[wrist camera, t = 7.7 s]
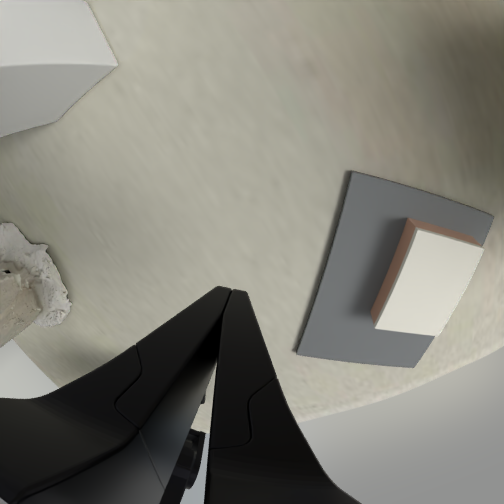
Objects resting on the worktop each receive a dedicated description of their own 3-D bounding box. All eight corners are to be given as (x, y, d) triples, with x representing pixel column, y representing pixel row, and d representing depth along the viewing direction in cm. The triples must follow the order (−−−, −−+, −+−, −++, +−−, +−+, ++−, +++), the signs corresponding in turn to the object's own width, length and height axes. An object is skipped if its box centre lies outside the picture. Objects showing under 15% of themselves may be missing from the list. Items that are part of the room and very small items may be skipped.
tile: (370, 311, 22) (431, 320, 22) (374, 328, 20) (438, 336, 20) (407, 217, 18) (472, 236, 18) (417, 229, 16) (484, 249, 16)
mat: (413, 365, 25) (414, 367, 25) (296, 351, 26) (296, 354, 25) (491, 214, 17) (494, 216, 17) (351, 170, 18) (352, 172, 17)
